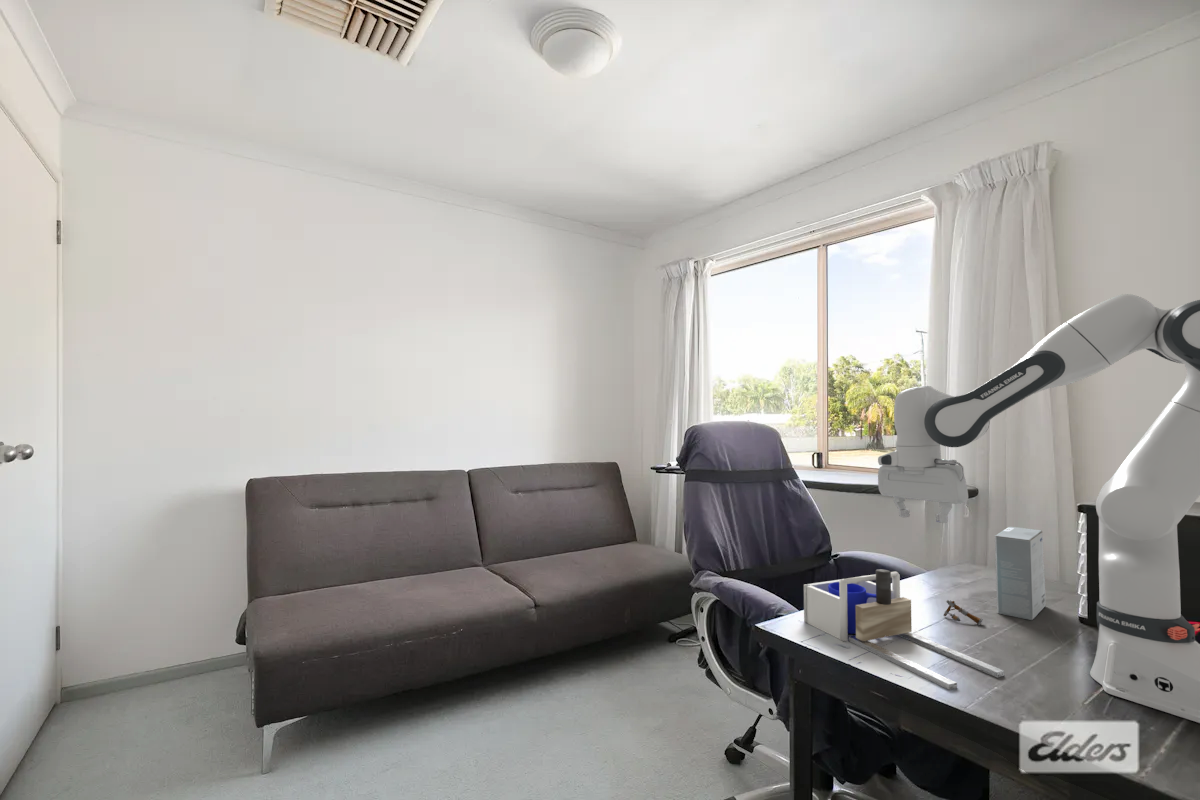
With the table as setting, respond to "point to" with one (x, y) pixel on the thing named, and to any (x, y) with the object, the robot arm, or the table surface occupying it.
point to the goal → (838, 603)
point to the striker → (883, 612)
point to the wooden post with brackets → (964, 612)
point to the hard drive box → (1020, 572)
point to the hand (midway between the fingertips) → (922, 519)
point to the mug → (852, 601)
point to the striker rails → (922, 670)
